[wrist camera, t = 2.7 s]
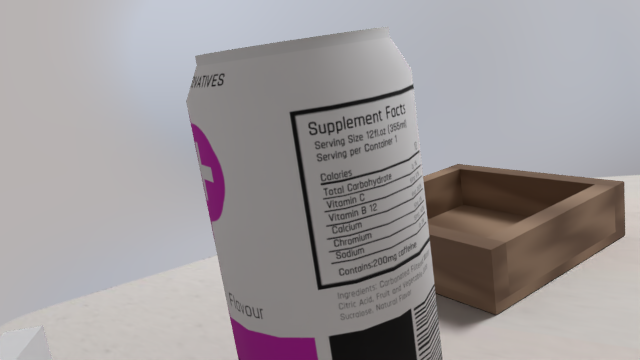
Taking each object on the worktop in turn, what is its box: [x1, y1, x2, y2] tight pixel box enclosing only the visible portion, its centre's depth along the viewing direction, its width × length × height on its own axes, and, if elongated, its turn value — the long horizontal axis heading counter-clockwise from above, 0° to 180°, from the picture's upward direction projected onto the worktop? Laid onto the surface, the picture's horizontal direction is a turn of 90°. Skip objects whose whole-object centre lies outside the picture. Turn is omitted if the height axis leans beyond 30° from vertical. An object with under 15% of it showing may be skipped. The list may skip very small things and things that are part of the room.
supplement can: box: [186, 27, 442, 360], centre depth 22 cm, size 8×8×15 cm
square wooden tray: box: [423, 164, 625, 315], centre depth 37 cm, size 13×13×4 cm
